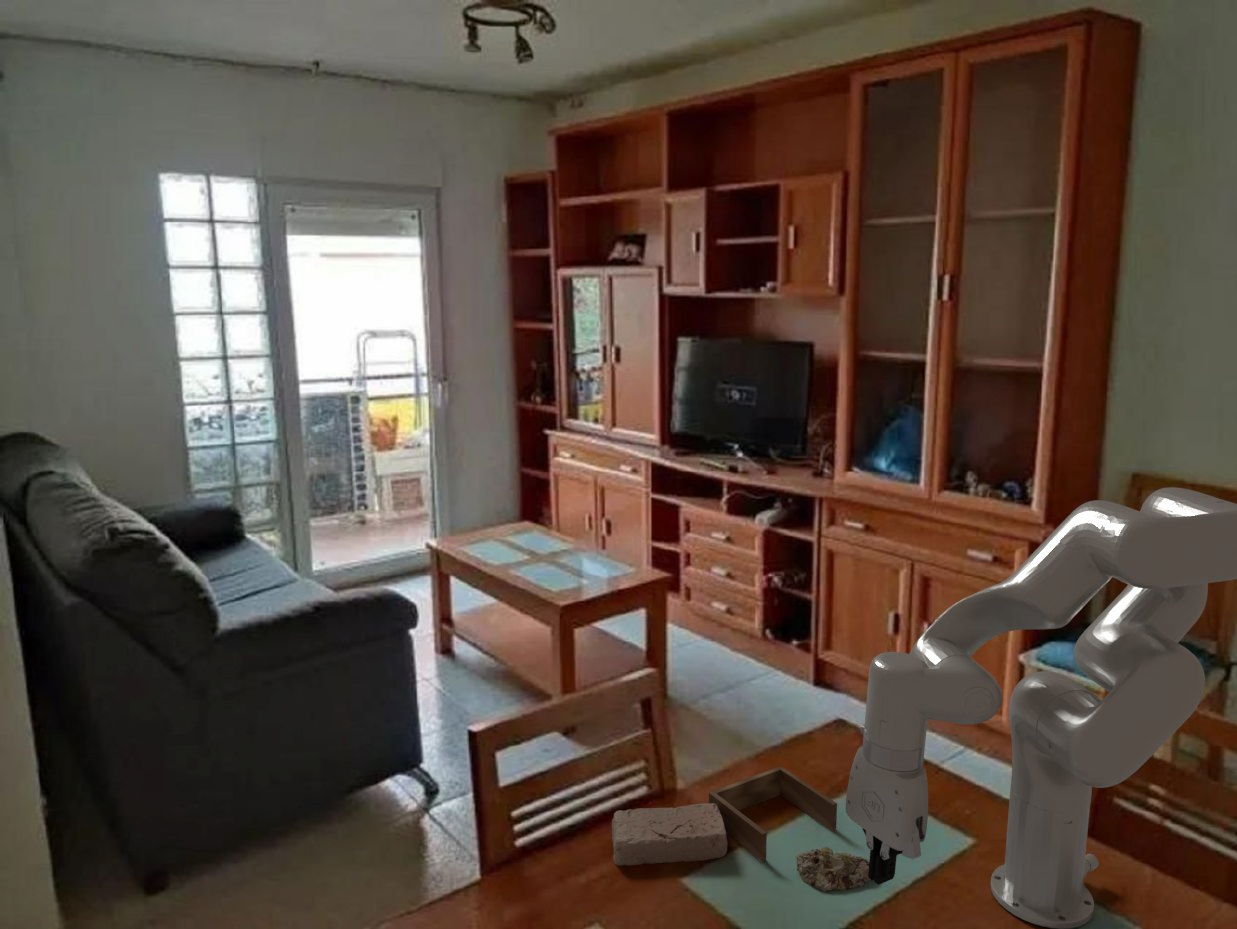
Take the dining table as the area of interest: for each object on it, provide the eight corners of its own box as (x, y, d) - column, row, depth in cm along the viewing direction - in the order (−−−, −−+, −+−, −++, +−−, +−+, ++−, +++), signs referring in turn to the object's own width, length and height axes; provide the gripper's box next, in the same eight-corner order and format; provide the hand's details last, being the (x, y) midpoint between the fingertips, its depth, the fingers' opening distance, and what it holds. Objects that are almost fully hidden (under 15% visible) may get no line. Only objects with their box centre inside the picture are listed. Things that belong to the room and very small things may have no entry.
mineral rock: (797, 879, 123) (795, 831, 130) (795, 900, 125) (793, 852, 132) (878, 887, 122) (871, 839, 129) (874, 909, 124) (868, 859, 131)
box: (780, 791, 148) (780, 766, 147) (836, 830, 137) (837, 803, 136) (708, 818, 141) (708, 792, 140) (761, 862, 130) (762, 834, 129)
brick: (615, 869, 130) (614, 839, 129) (611, 834, 138) (610, 806, 137) (728, 862, 131) (729, 833, 130) (717, 828, 139) (718, 800, 138)
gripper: (829, 731, 119) (819, 856, 123) (919, 785, 107) (905, 922, 110) (870, 719, 123) (859, 840, 126) (961, 769, 110) (946, 902, 114)
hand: (881, 878), depth 118 cm, fingers closed
